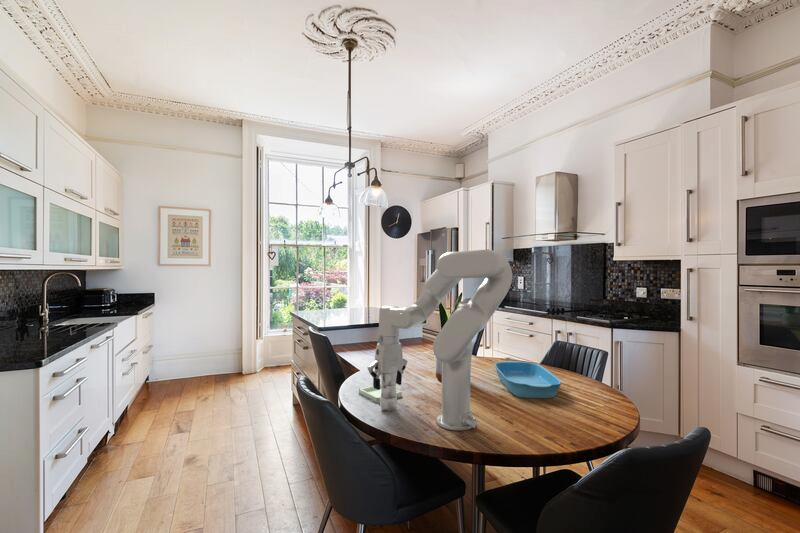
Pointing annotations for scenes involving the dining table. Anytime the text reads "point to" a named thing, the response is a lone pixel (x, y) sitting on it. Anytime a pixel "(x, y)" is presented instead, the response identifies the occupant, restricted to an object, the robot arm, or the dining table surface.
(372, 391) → the tray
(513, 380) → the casserole dish
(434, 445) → the dining table surface
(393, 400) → the plastic bottle
